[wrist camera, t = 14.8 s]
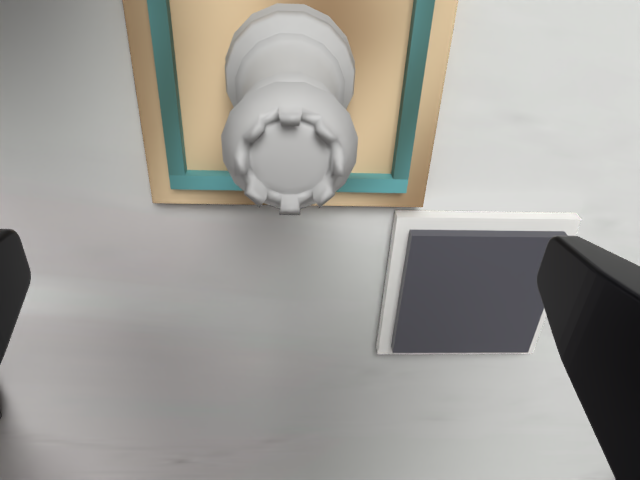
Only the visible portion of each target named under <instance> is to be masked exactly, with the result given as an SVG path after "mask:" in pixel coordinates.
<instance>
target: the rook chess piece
mask: <svg viewBox="0 0 640 480" xmlns="http://www.w3.org/2000/svg"><path fill="white" fill-rule="evenodd" d="M225 62H226V63H225V80H226V92H227V94H228V96H229V99H230V101H231V103H232V105H233V107H234V108H233V109H232V110H231V111H230V113H229V116H228V119H227V121H226V124H225V127H224V129H223V132H222V135H221V141H222V155H223V162H224V164H225V166H226V168H227V170H228V171H229V173H230V175H231V177H232V179H233V181H234V183H235V184H236V185H237V186H239V187H240V188H241V189H242V190H243V191H244V195H246V196H247V197H248V198H249V199H250V200H252V201H253V202H254V203H255V204H256V205H257V206H259V207H261V205H262V204H263V203H265V204H268V205H270V206H273V207H276V208H280V210H279V215H300V208H304V207H307V206H310V205H313V204H317V205H318V206H319V208H320V207H321V206H323V205H324V204H325V203H326V202H327V201H329V200H330V199H331V198H332V197H333V196H335V192H336V191H337V190H338V189H340V188H341V187H342V186H343V185H344V184H345V183H346V181H347V179H348V177H349V175H350V173H351V171H352V169H353V168H354V166H355V164H356V158H357V146H358V136H357V133H356V130H355V128H354V125H353V122H352V119H351V116H350V113H349V112H348V111H347V110H346V109H347V107H348V105H349V103H350V101H351V99H352V97H353V95H354V82H355V60H354V57H353V54H352V51H351V48H350V45H349V42H348V39H347V36H346V35H345V34H344V33H343V32H342V31H341V29H340V28H339V27H338V26H337V25H336V24H335V22H334V21H333V20H332V19H331V18H330V17H329V16H328V15H326V14H324V13H322V12H319V11H317V10H315V9H313V8H311V7H309V6H307V5H305V4H282V3H277V4H274V5H272V6H270V7H267V8H265V9H262V10H260V11H258V12H255V13H253V14H252V15H251V16H250V17H249V18H248V19H247V20H246V21H245V22H244V23H243V24H242V25H241V26H240V27H239V29H238V30H237V31H236V32H235V33H234V35H233V38H232V41H231V43H230V46H229V49H228V52H227V55H226V58H225Z"/></svg>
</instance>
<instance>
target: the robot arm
mask: <svg viewBox="0 0 640 480" xmlns="http://www.w3.org/2000/svg"><path fill="white" fill-rule="evenodd" d="M30 280H31V272H30V268H29V265H28V261H27V258H26V255H25V252H24V249H23V246H22V243H21V240H20V237H19V235H18V234H17V232H15V231H14V230H12V229H0V364H1V362H2V359H3V357H4V354H5V352H6V349H7V347H8V344H9V341H10V338H11V335H12V333H13V330H14V327H15V324H16V321H17V319H18V316H19V313H20V310H21V307H22V305H23V302H24V299H25V296H26V293H27V291H28V288H29V285H30ZM537 287H538V290H539V293H540V297H541V300H542V303H543V306H544V309H545V312H546V315H547V318H548V321H549V324H550V327H551V330H552V334H553V337H554V340H555V343H556V346H557V349H558V352H559V354H560V357H561V360H562V362H563V364H564V367H565V369H566V371H567V374H568V376H569V378H570V380H571V382H572V385H573V387H574V389H575V391H576V393H577V396H578V398H579V400H580V402H581V404H582V407H583V409H584V411H585V413H586V415H587V417H588V420H589V422H590V424H591V426H592V428H593V431H594V433H595V435H596V437H597V439H598V442H599V444H600V446H601V448H602V450H603V452H604V455H605V457H606V459H607V461H608V463H609V466H610V468H611V470H612V472H613V474H614V477H615V479H616V480H640V266H638V265H636V264H634V263H632V262H630V261H628V260H626V259H624V258H622V257H619V256H617V255H615V254H613V253H611V252H609V251H607V250H605V249H603V248H601V247H599V246H597V245H595V244H593V243H591V242H589V241H587V240H584V239H582V238H580V237H578V236H562V235H558V236H554V237H552V238H551V239H550V240H549V241H548V244H547V246H546V249H545V252H544V255H543V258H542V261H541V264H540V267H539V270H538V274H537ZM1 417H2V414H1V412H0V418H1Z"/></svg>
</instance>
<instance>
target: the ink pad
mask: <svg viewBox="0 0 640 480" xmlns="http://www.w3.org/2000/svg"><path fill="white" fill-rule="evenodd" d="M581 221H582V219H581V218H580V217H579V216H578V215H577V213H569V212H499V211H429V210H395V214H394V221H393V228H392V235H391V242H390V250H389V257H388V264H387V271H386V278H385V286H384V293H383V300H382V307H381V314H380V322H379V329H378V336H377V343H376V348H377V353H378V354H533V352H534V349H535V346H536V344H537V341H538V338H539V335H540V333H541V330H542V327H543V325H544V322H545V319H546V316H547V315H546V312H545V309H544V306H543V303H542V300H541V297H540V293H539V290H538V287H537V274H538V270H539V267H540V264H541V261H542V258H543V255H544V252H545V249H546V246H547V244H548V241H549V240H550V239H551V238H552V237H554V236H558V235H562V236H576V235H577V232H578V229H579V227H580V224H581Z"/></svg>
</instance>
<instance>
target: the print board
mask: <svg viewBox="0 0 640 480" xmlns="http://www.w3.org/2000/svg"><path fill="white" fill-rule="evenodd" d="M122 1H123V8H124V14H125V21H126V28H127V34H128V41H129V48H130V54H131V61H132V68H133V74H134V81H135V88H136V94H137V101H138V108H139V114H140V121H141V128H142V134H143V141H144V148H145V154H146V161H147V168H148V174H149V181H150V188H151V194H152V201H153V203H177V204H245V205H256V204H255V203H254V202H253V201H252V200H250V199H249V198H248V197H247V196H246V195H244V191H243V190H242V189H241V188H240V187H239V186H237V185H236V184H235V183H234V181H233V179H232V177H231V175H230V173H229V171H228V170H227V168H226V166H225V164H224V162H223V155H222V141H221V135H222V132H223V129H224V127H225V124H226V121H227V119H228V116H229V113H230V111H231V110H232V109H233V108H234V107H233V105H232V103H231V101H230V99H229V96H228V94H227V92H226V80H225V63H226V62H225V58H226V55H227V52H228V49H229V46H230V43H231V41H232V38H233V35H234V33H235V32H236V31H237V30H238V29H239V27H240V26H241V25H242V24H243V23H244V22H245V21H246V20H247V19H248V18H249V17H250V16H251V15H252V14H253V13H255V12H258V11H260V10H262V9H265V8H267V7H270V6H272V5H274V4H277V3H282V4H305V5H307V6H309V7H311V8H313V9H315V10H317V11H319V12H322V13H324V14H326V15H328V16H329V17H330V18H331V19H332V20H333V21H334V22H335V24H336V25H337V26H338V27H339V28H340V29H341V31H342V32H343V33H344V34H345V35H346V36H347V39H348V42H349V45H350V48H351V51H352V54H353V57H354V60H355V82H354V95H353V97H352V99H351V101H350V103H349V105H348V107H347V109H346V110H347V111H348V112H349V113H350V116H351V119H352V122H353V125H354V128H355V130H356V133H357V136H358V146H357V158H356V164H355V166H354V168H353V169H352V171H351V173H350V175H349V177H348V179H347V181H346V183H345V184H344V185H343V186H342V187H341V188H340V189H338V190H337V191H336V192H335V196H333V197H332V198H331V199H330V200H329V201H327V202H326V203H325V204H324V205H323V206H381V207H423V203H424V197H425V191H426V185H427V179H428V173H429V168H430V162H431V156H432V150H433V144H434V138H435V133H436V127H437V121H438V115H439V109H440V104H441V98H442V92H443V86H444V80H445V74H446V69H447V63H448V57H449V51H450V45H451V39H452V34H453V28H454V22H455V16H456V10H457V4H458V0H122ZM262 205H268V204H265V203H263V204H262ZM313 206H318V205H317V204H313Z"/></svg>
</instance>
